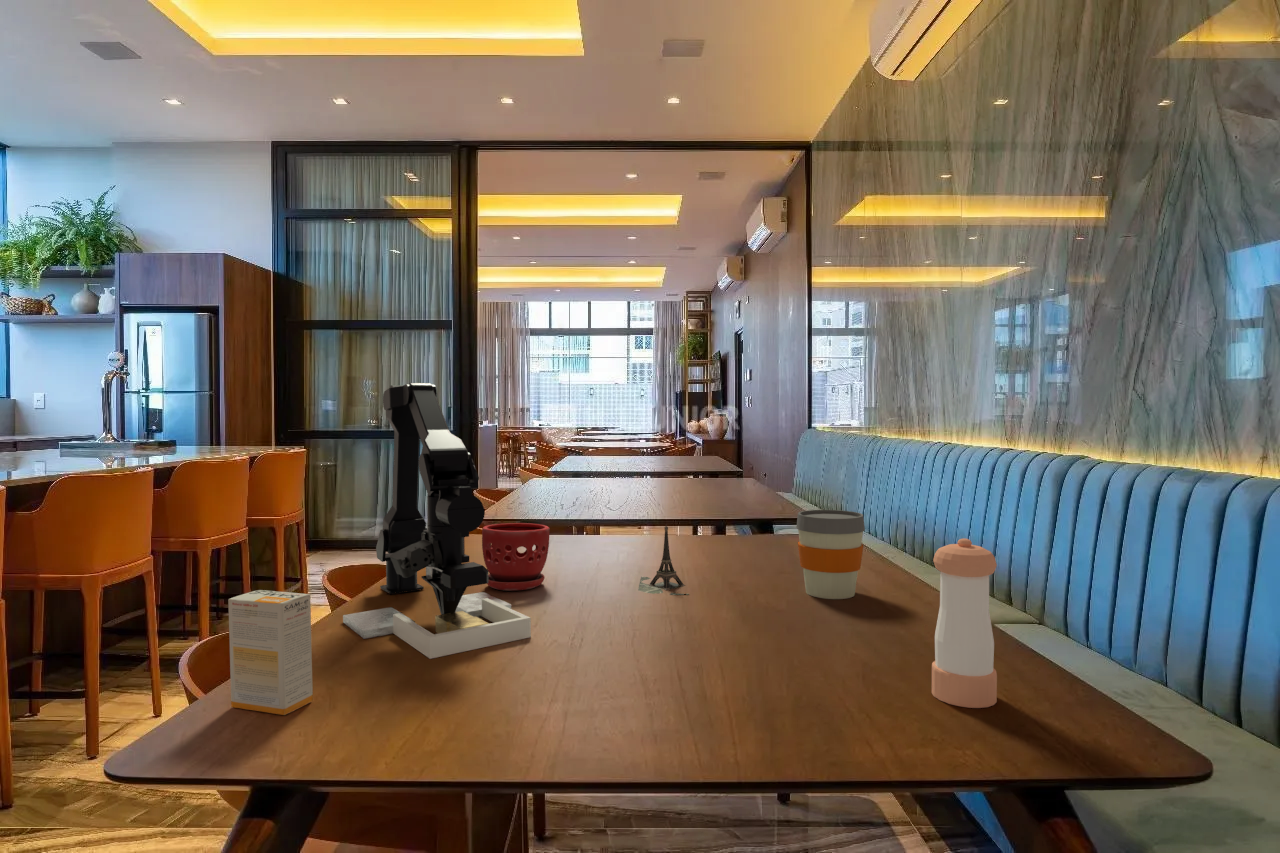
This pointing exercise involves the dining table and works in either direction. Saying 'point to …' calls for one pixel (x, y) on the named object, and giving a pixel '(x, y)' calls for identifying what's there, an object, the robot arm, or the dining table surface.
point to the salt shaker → (964, 627)
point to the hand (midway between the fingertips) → (447, 620)
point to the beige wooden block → (465, 623)
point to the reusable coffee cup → (830, 551)
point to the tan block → (443, 620)
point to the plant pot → (515, 555)
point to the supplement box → (270, 651)
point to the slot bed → (382, 619)
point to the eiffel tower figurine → (662, 574)
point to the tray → (466, 632)
